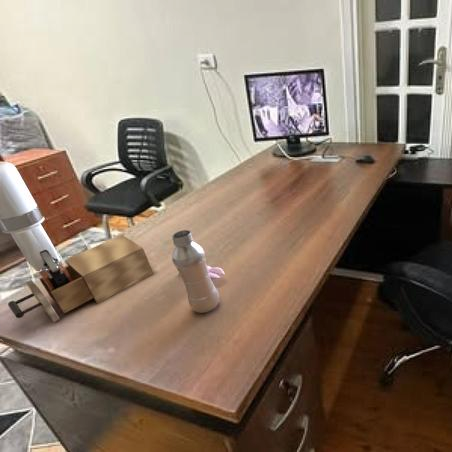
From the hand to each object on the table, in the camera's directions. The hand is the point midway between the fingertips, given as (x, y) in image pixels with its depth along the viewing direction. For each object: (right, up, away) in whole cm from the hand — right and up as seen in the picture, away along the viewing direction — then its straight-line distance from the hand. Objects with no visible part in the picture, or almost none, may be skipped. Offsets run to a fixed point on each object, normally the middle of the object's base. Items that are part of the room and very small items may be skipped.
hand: (60, 284), depth 85 cm
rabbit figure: (+32, 0, +7) cm, 33 cm away
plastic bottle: (+37, -5, -3) cm, 37 cm away
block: (0, 0, 0) cm, 0 cm away
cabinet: (+7, 0, +10) cm, 13 cm away
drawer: (0, -5, +2) cm, 5 cm away
